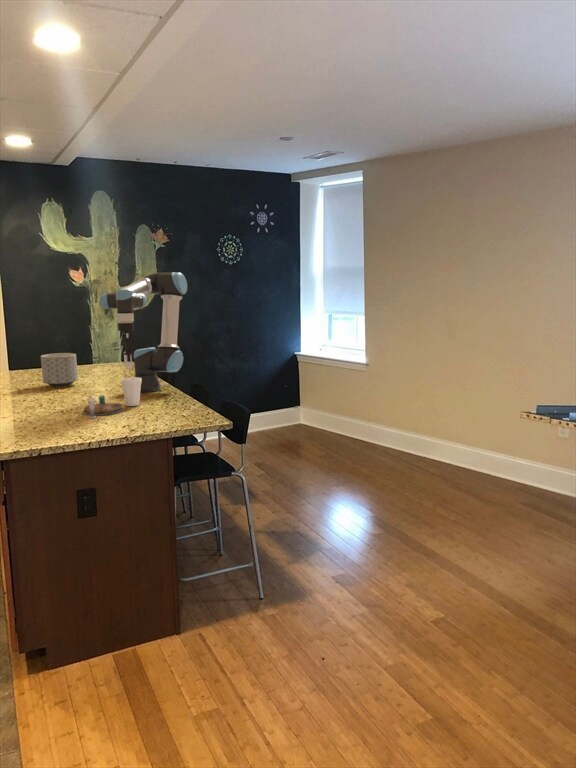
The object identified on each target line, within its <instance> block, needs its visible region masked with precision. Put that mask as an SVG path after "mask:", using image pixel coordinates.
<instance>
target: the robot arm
mask: <svg viewBox="0 0 576 768" xmlns="http://www.w3.org/2000/svg"><path fill="white" fill-rule="evenodd" d="M187 291H188V281H187V278H186V277H185V275H184V274H183V273H181V272H175V271H174V272H173V271H171V272H153V273H150V274H147V275H145V276H142V277H140V278H138V279H137V280H136V281H135V282H134V283H132V284H129V285H126V286H125V287H122V288H121V289H117V290H115V291H114V292H106V293H101V295H100V297H99V304H100V306H101V308H103V309H105V310H106V309H109V310H114V309H116V314H117V315H115V318H116V319H117V322H118V323H117V331H119V332H122V334H121V339H122V343H123V344H122V345H123V360H124V363H123V364H124V366H125V369H133V363H134V377H138V378H142V383H141V390H140V393H152V391H154V392H158V391H160V389H161V388H162V387H161V383H160V381H159V377H158V375H157V373H177V372H178V371H180V369H181V368H182V367H183V363H184V356H183V355H184V354H183V352H182V351H181V349H180V346H178V331H179V318H180V317H179V316H180V315H179V314H180V301H181V300H182V299H183V295H185V294H186V293H187ZM148 295H160V298H161V299H162V301H163V302H162V317H161V335H160V344H159V345H157V349H156V347H155V346H154V347H153V346H152V347H145V348H140V349H139V348H138V349H136V350H135V351H134V352H133V359H132V345H131V343H132V334H131V333H130V331H131V332H132V331H134V330H135V322H134V321H135V318H134V317H135V315H134V310H137V309H143V308H145V307H146V305H147V303H148V299H147V296H148ZM157 390H158V391H157ZM161 390H162V389H161Z"/></svg>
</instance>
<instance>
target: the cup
mask: <svg viewBox="0 0 576 768" xmlns="http://www.w3.org/2000/svg"><path fill="white" fill-rule="evenodd" d="M141 383H142V378H138V377H135V376H134V377H123V378H121V379H120V384H121V388H122V392H123V398H124V401H125V402H124V403H125V406H128V407H136V406H139V405H140V400H141V392H140V390H141Z"/></svg>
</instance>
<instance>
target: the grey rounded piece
mask: <svg viewBox="0 0 576 768" xmlns="http://www.w3.org/2000/svg"><path fill="white" fill-rule="evenodd" d="M87 403H88V406H89V405H90V416H88V415H87V416H88V419H96V418H98V416H96V415H95V408H94V404H96V399H95V398H94V397H92V396H91V397H89V398H88V399H87Z"/></svg>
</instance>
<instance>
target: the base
mask: <svg viewBox="0 0 576 768" xmlns="http://www.w3.org/2000/svg"><path fill="white" fill-rule="evenodd" d="M123 412H124V407H122V410H120V411H117V412H112V413H103V414H95V415H96V416H97V417H103V416H104V417H106V416H112V415H117V414H121V413H123ZM82 414H83V415H85V416H90V413H85V412H84V410H82Z"/></svg>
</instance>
